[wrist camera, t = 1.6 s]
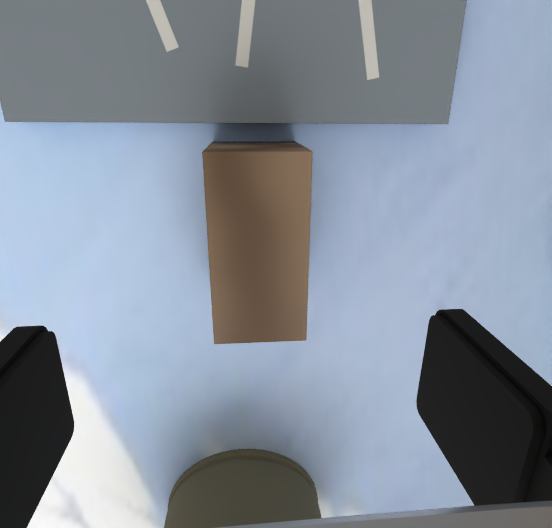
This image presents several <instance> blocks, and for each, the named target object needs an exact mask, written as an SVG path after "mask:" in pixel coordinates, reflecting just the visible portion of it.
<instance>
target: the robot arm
mask: <svg viewBox="0 0 552 528" xmlns="http://www.w3.org/2000/svg"><path fill="white" fill-rule="evenodd" d="M417 409H418V412H419V415H420V416H421V418H422V420H423V421H424V423H425V425H426V426H427V428H428V430H429V431H430V433H431V434H432V436H433V438H434V439H435V441H436V443H437V444H438V446H439V448H440V449H441V451H442V452H443V454H444V456H445V457H446V459H447V461H448V462H449V464H450V466H451V467H452V469H453V471H454V472H455V474H456V475H457V477H458V479H459V480H460V482H461V484H462V485H463V487H464V489H465V490H466V492H467V494H468V495H469V497H470V498H471V500H472V502H473V503H474V505H475V506H465V507H453V508H441V509H428V510H416V511H404V512H391V513H379V514H367V515H354V516H343V517H331V518H320V519H308V520H297V521H285V522H274V523H262V524H251V525H240V526H228V527H217V528H552V386H551V385H550V384H549V383H547V382H546V381H545V380H544V379H543V378H542V377H540V376H539V375H538V374H537V373H536V372H535V371H534V370H532V369H531V368H530V367H529V366H528V365H527V364H525V363H524V362H523V361H522V360H521V359H520V358H519V357H517V356H516V355H515V354H514V353H513V352H512V351H510V350H509V349H508V348H507V347H506V346H505V345H504V344H502V343H501V342H500V341H499V340H498V339H497V338H495V337H494V336H493V335H492V334H491V333H490V332H489V331H487V330H486V329H485V328H484V327H483V326H482V325H481V324H479V323H478V322H477V321H476V320H475V319H474V318H472V317H471V316H470V315H469V314H468V313H467V312H466V311H464V310H463V309H448V310H439V311H437V313H436V315H435V316H431V318H430V320H429V325H428V332H427V338H426V344H425V350H424V356H423V363H422V369H421V375H420V381H419V388H418V394H417ZM73 431H74V419H73V415H72V410H71V405H70V401H69V396H68V391H67V387H66V382H65V377H64V373H63V368H62V363H61V359H60V354H59V349H58V345H57V340H56V336H55V334H54V332H52V331H48V330H47V329H46V327H44V326H24V327H16V328H14V329H13V330H12V331H11V332H10V333H9V334H8V335H7V336H6V337H5V338H4V339H3V340H2V341H1V342H0V528H27V526H28V524H29V522H30V520H31V518H32V516H33V514H34V512H35V510H36V508H37V506H38V504H39V502H40V500H41V498H42V496H43V494H44V492H45V490H46V488H47V486H48V484H49V482H50V480H51V478H52V476H53V474H54V472H55V470H56V468H57V466H58V464H59V462H60V460H61V458H62V456H63V454H64V452H65V450H66V448H67V446H68V444H69V442H70V440H71V437H72V435H73Z"/></svg>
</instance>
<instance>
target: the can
mask: <svg viewBox="0 0 552 528" xmlns="http://www.w3.org/2000/svg"><path fill="white" fill-rule="evenodd" d="M320 518H321V514H320V509H319V505H318V498H317V493H316V489H315V486H314V483H313V481H312V479H311V478H310V476H309V475H308V473H307V472H306V471H305V470H304V469H303V468H302V467H301V466H300V465H298V464H297V463H296V462H294V461H292V460H291V459H289V458H287V457H285V456H282V455H280V454H277V453H273V452H270V451H265V450H257V449H238V450H231V451H226V452H222V453H218V454H215V455H212V456H210V457H207V458H205V459H203V460H201V461H199V462H198V463H196V464H195V465H193V466H192V467H190V468H189V469H188V470H187V471H186V472H185V473H184V474H183V475H182V476H181V477H180V478H179V480H178V481H177V482H176V484H175V486H174V488H173V490H172V492H171V495H170V499H169V505H168V512H167V516H166V521H165V526H164V528H217V527H228V526H240V525H251V524H262V523H274V522H285V521H297V520H308V519H320Z"/></svg>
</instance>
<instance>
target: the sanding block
mask: <svg viewBox="0 0 552 528" xmlns="http://www.w3.org/2000/svg"><path fill="white" fill-rule="evenodd" d="M202 153H203V169H204V186H205V202H206V218H207V235H208V251H209V268H210V284H211V300H212V317H213V333H214V344H226V343H251V342H277V341H303V340H306V332H307V302H308V271H309V240H310V210H311V179H312V151H311V150H309V149H307V148H306V147H304V146H302V145H300V144H299V143H297V142H295V141H291V142H212V143H211V144H210V145H209V146H208V147H207V148H206V149H205V150H204V151H203V152H202Z"/></svg>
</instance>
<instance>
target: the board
mask: <svg viewBox="0 0 552 528" xmlns="http://www.w3.org/2000/svg"><path fill="white" fill-rule="evenodd" d="M466 1H467V0H0V102H1V106H2V111H3V115H4V120H5V122H155V123H348V124H448V121H449V115H450V108H451V101H452V95H453V88H454V81H455V75H456V68H457V61H458V54H459V48H460V41H461V34H462V28H463V21H464V14H465V8H466Z"/></svg>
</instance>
